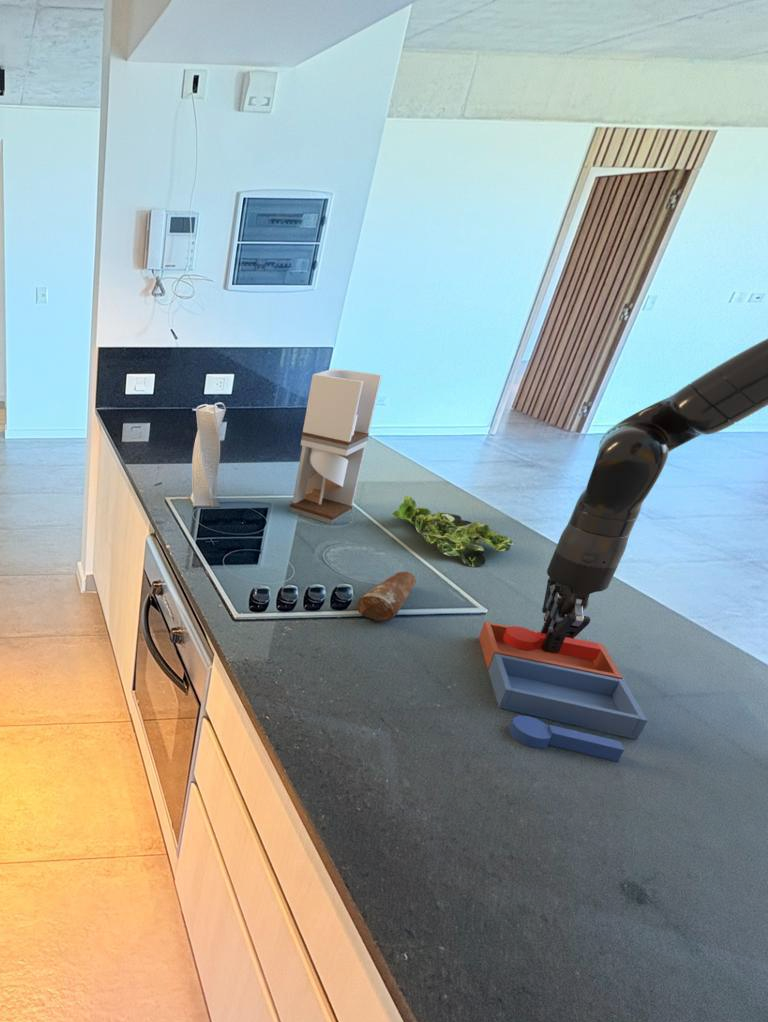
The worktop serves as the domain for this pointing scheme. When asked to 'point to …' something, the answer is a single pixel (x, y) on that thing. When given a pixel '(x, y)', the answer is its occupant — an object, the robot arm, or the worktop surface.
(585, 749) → the blue spoon
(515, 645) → the red spoon
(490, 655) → the red bin
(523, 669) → the blue bin
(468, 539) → the lettuce
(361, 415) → the white tiered shelf stand
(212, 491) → the skyscraper
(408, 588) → the brown rounded cylinder
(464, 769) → the worktop surface
